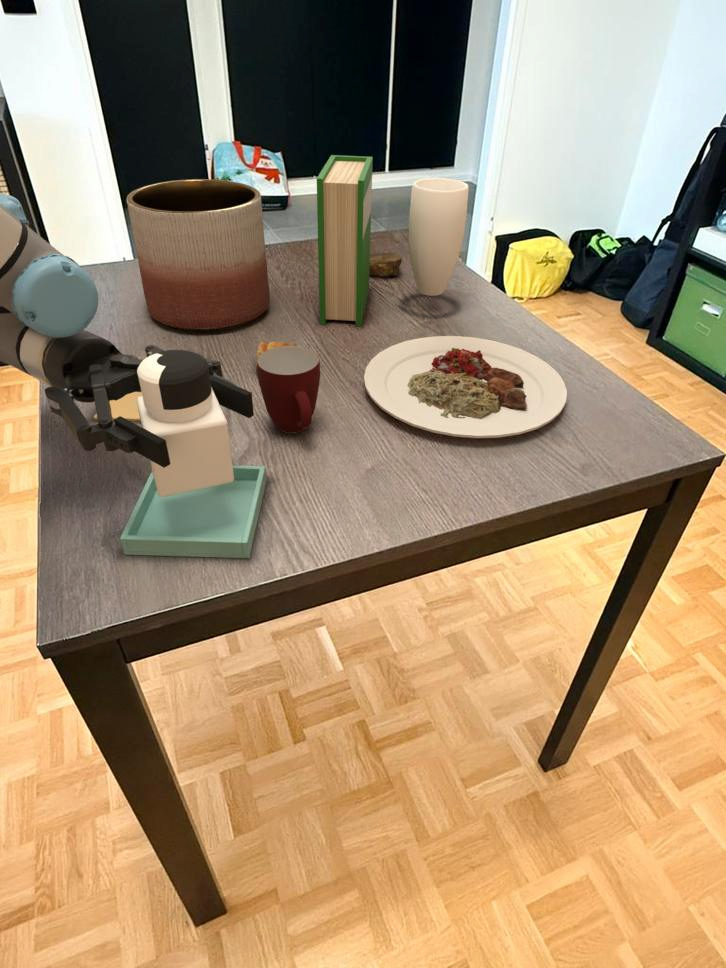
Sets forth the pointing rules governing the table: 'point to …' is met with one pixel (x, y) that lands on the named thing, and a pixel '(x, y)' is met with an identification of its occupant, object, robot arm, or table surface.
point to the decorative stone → (384, 264)
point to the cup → (436, 231)
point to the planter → (201, 252)
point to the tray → (198, 519)
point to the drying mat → (125, 407)
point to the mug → (289, 385)
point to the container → (184, 422)
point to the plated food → (465, 387)
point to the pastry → (269, 347)
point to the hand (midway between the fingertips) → (210, 428)
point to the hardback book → (344, 237)
